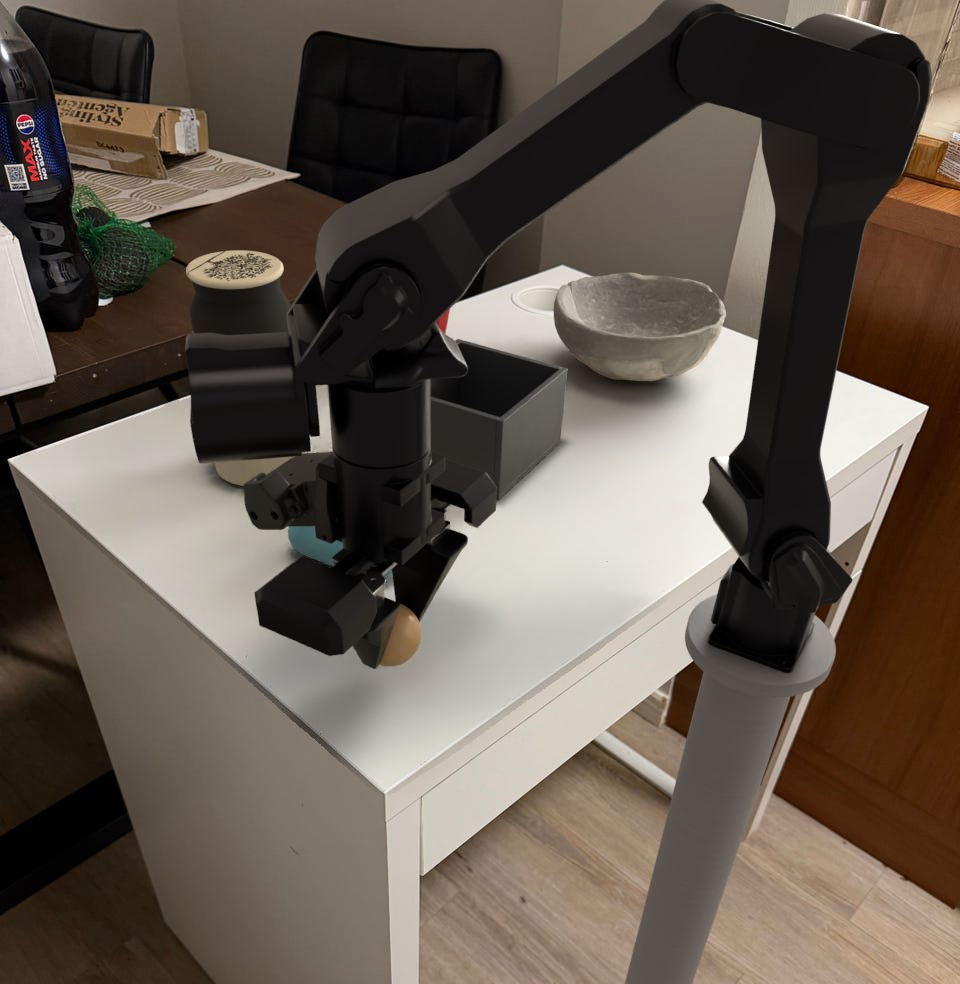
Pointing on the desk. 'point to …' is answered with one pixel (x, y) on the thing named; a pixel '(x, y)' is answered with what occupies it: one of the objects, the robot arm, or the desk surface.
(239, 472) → the travel mug
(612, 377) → the bowl
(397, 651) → the orange ball
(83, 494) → the desk surface
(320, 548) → the teal capsule pill
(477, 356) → the wastebin
